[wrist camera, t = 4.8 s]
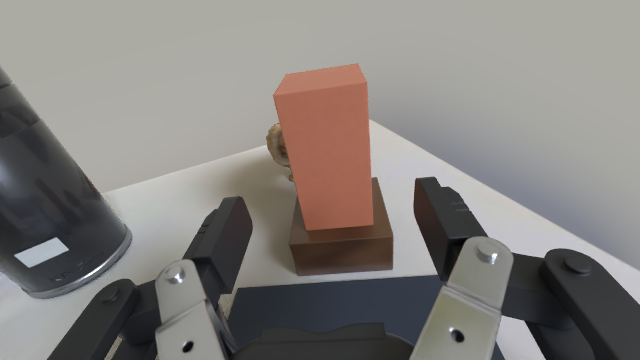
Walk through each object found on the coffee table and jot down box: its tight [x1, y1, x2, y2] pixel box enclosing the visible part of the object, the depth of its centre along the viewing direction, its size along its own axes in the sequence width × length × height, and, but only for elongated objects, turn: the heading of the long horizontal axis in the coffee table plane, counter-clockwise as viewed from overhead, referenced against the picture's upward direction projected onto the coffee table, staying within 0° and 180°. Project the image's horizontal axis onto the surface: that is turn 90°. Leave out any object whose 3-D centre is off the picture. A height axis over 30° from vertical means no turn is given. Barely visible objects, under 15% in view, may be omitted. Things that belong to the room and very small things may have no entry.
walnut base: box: [289, 177, 393, 276], centre depth 24 cm, size 8×8×4 cm
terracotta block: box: [273, 64, 373, 231], centre depth 20 cm, size 5×5×11 cm
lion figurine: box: [266, 123, 294, 181], centre depth 34 cm, size 15×5×9 cm, turn 148°
